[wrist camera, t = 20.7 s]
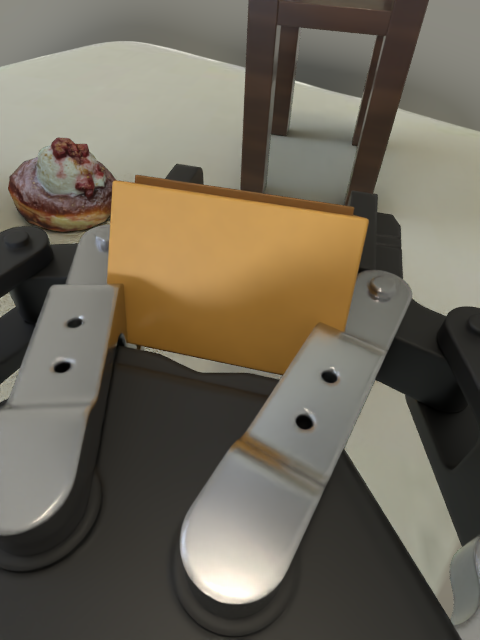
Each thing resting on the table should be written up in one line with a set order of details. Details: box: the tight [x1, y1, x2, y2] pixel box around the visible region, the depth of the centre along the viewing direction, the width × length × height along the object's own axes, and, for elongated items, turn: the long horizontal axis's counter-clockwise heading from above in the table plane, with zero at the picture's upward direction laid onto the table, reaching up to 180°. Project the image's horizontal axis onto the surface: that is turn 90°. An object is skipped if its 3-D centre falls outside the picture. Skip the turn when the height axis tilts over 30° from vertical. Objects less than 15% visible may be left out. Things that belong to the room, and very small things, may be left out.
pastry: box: [8, 138, 116, 232], centre depth 30 cm, size 8×8×5 cm
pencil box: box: [107, 175, 369, 375], centre depth 18 cm, size 22×4×3 cm, turn 166°
